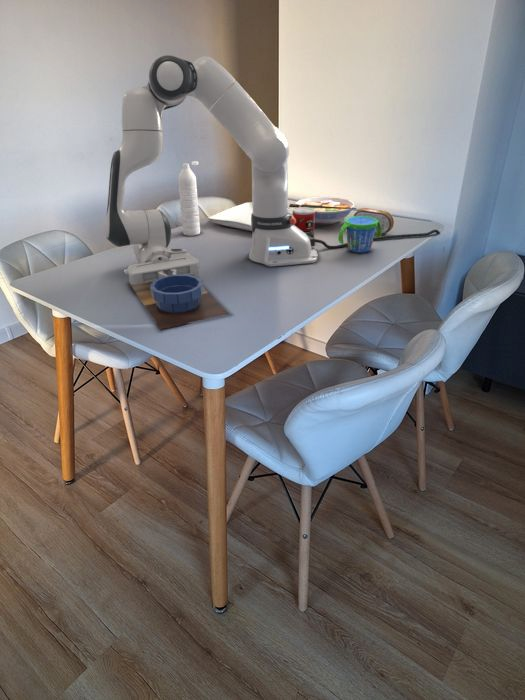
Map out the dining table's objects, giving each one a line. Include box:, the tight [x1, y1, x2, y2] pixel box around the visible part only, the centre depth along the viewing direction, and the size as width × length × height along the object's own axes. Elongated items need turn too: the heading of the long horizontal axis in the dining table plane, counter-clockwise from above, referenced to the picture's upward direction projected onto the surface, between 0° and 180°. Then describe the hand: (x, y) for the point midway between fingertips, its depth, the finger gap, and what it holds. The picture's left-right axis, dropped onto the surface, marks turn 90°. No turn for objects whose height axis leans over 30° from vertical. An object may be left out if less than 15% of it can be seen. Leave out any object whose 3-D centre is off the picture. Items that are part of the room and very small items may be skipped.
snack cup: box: [338, 215, 382, 254], centre depth 170 cm, size 16×10×10 cm
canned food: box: [292, 207, 316, 238], centre depth 179 cm, size 8×8×11 cm
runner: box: [128, 281, 209, 306], centre depth 146 cm, size 18×18×1 cm
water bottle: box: [177, 160, 201, 237], centre depth 186 cm, size 9×6×25 cm
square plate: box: [206, 201, 294, 232], centre depth 201 cm, size 27×27×4 cm
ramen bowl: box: [288, 196, 357, 226], centre depth 199 cm, size 25×23×8 cm
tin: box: [353, 207, 395, 236], centre depth 187 cm, size 15×3×8 cm, turn 58°
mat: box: [144, 292, 230, 331], centre depth 133 cm, size 15×18×1 cm
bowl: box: [150, 274, 204, 313], centre depth 134 cm, size 13×13×6 cm
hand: (171, 279), depth 139 cm, fingers closed
